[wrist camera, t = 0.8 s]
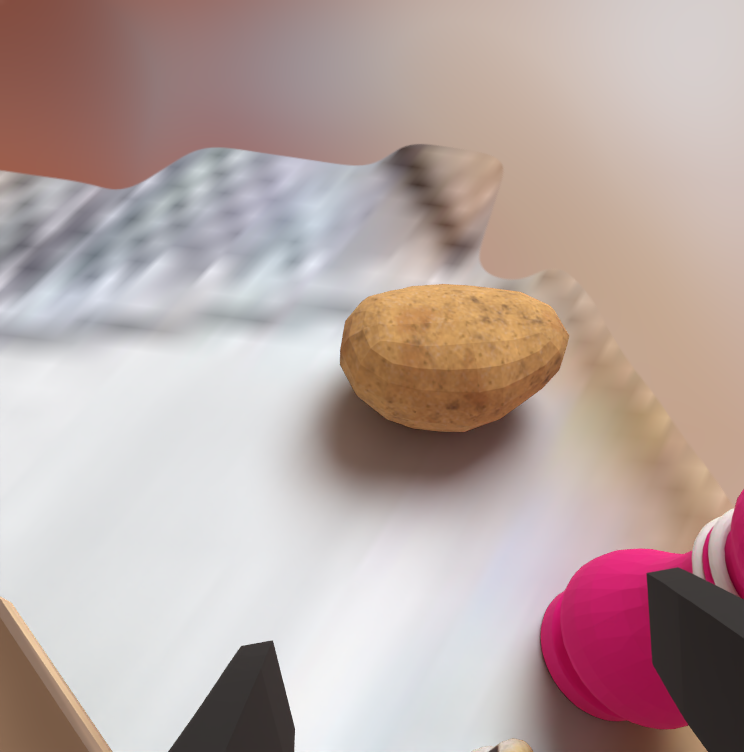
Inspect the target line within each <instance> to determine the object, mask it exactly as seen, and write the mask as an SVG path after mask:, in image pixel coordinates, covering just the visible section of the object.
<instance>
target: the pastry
mask: <svg viewBox="0 0 744 752" xmlns="http://www.w3.org/2000/svg"><path fill="white" fill-rule="evenodd" d="M472 752H533V750H532V749H531V747H530V746H529V745H528V744H527V743H526V742H524V741H523V740H518V739H514V738H513V739H509V740H506V741H503V742H501V743H499V744H498V745H497V746H495V747H492V746H486V747H481V748H479V749H476V750H473V751H472Z"/></svg>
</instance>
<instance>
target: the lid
mask: <svg viewBox="0 0 744 752" xmlns="http://www.w3.org/2000/svg"><path fill="white" fill-rule="evenodd" d="M0 752H112V750H111V749H110V747H109V746H108V744H107V743H106V741H105V740H104V739H103V737H102V736H101V734H100V733H99V731H98V730H97V728H96V727H95V725H94V724H93V722H92V721H91V719H90V718H89V716H88V715H87V713H86V712H85V710H84V709H83V708H82V706H81V705H80V703H79V702H78V700H77V699H76V697H75V696H74V694H73V693H72V691H71V690H70V688H69V687H68V685H67V684H66V682H65V681H64V680H63V678H62V677H61V675H60V674H59V672H58V671H57V669H56V668H55V666H54V665H53V663H52V662H51V660H50V659H49V657H48V656H47V654H46V653H45V652H44V650H43V649H42V647H41V646H40V644H39V643H38V641H37V640H36V638H35V637H34V635H33V634H32V632H31V631H30V629H29V628H28V626H27V625H26V624H25V622H24V621H23V619H22V618H21V616H20V615H19V613H18V612H17V610H16V609H15V607H14V606H13V604H12V603H11V602H9V601H7V600H5V599H4V598H2V597H0Z"/></svg>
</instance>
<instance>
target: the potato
mask: <svg viewBox="0 0 744 752" xmlns="http://www.w3.org/2000/svg"><path fill="white" fill-rule="evenodd" d="M568 339H569V334H568V333H567V331H566V329H565V328H564V326H563V324H562V323H561V321H560V319H559V318H558V316H557V314H556V313H555V311H554V310H553V308H552V307H551V306H549V305H547V304H545V303H543V302H541V301H539V300H536V299H534V298H532V297H530V296H528V295H526V294H524V293H522V292H516V291H509V290H501V289H494V288H485V287H476V286H467V285H449V284H439V285H425V286H411V287H407V288H403V289H399V290H393V291H388V292H385V293H381V294H377V295H373V296H369V297H367V298H366V299H365V300H363V301H362V302H361V303H360V304H359V305H358V307H357V308H356V309H355V310H354V311H353V313H352V314H351V315H350V316H349V317H348V318H347V320H346V321H345V326H344V331H343V338H342V343H341V349H340V366H341V367H342V369H343V371H344V373H345V375H346V377H347V379H348V380H349V382H350V384H351V386H352V388H353V390H354V391H355V393H356V395H357V396H358V397H359V398H360V399H362V400H363V401H364V402H365V403H366V404H368V405H369V406H370V407H372V408H373V409H374V410H375V411H377V412H378V413H379V414H381V415H382V416H383V417H385V418H386V419H387V420H390V421H393V422H396V423H399V424H401V425H404V426H407V427H410V428H413V429H422V430H431V431H445V432H466V431H469V430H471V429H474V428H477V427H479V426H482V425H485V424H488V423H490V422H493V421H497V420H499V419H501V418H502V417H504V416H505V415H506V414H508V413H509V412H511V411H512V410H513V409H515V408H516V407H517V406H519V405H520V404H522V403H523V402H524V401H526V400H527V399H528V398H530V397H531V396H533V395H534V394H535V393H537V392H538V391H539V390H541V389H542V388H543V387H544V386H545V385H546V384H547V383H548V382H549V381H550V379H551V378H552V377H553V376H554V375H555V374H556V373H557V372H558V371H559V369H560V366H561V363H562V360H563V356H564V353H565V350H566V347H567V343H568Z"/></svg>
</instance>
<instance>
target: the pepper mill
mask: <svg viewBox="0 0 744 752" xmlns="http://www.w3.org/2000/svg"><path fill="white" fill-rule="evenodd" d="M676 567H679V568H681V569H683V570H686V571H688V572H690V573H692V574H694V575H696V576H698V577H700V578H702V579H704V580H706V581H708V582H710V583H712V584H714V585H716V586H718V587H720V588H722V589H724V590H726V591H728V592H730V593H732V594H734V595H736V596H738V597H740V598H742V599H744V490H743V491H742V492H741V494H740V495H739V497H738V498H737V502H736V505H735V508H734V509H731V510H729V511H728V512H726V513H725V514H724V515H722V516H721V517H718V518H715V519H714V520H712V521H711V522H709V523H708V524H706V525H705V526H704V527H703V528H702V530H701V531H700V533H699V534H698V536H697V538H696V540H695V542H694V546H693V550H692V551H690V552H688V553H685V554H675V553H668V552H663V551H658V550H653V549H627V550H617V551H613V552H610V553H607V554H605V555H602V556H600V557H597V558H595V559H593V560H591V561H590V562H588V563H586V564H585V565H583V566H582V567H581V568H580V569H579V570H578V571H577V572H576V573H575V575H574V576H573V577H572V578H571V580H570V582H569V584H568V586H567V588H566V589H565V591H563V592H562V593H560V594H559V595H558V596H556V597H555V599H554V600H553V601H552V602H551V603H550V605H549V606H548V608H547V610H546V612H545V614H544V618H543V622H542V626H541V646H542V652H543V656H544V659H545V662H546V665H547V668H548V670H549V672H550V674H551V676H552V678H553V680H554V681H555V683H556V684H557V686H558V687H559V689H560V690H561V691H562V692H563V693H564V695H565V696H566V697H567V698H568V699H569V700H570V701H571V702H572V703H573V704H575V705H576V706H577V707H578V708H580V709H581V710H583V711H584V712H586V713H588V714H590V715H592V716H594V717H597V718H600V719H603V720H608V721H625V720H628V721H630V722H632V723H635V724H638V725H641V726H644V727H650V728H655V729H676V728H680V727H684V726H688V723H687V722H686V721H685V719H684V718H683V716H682V714H681V713H680V711H679V709H678V708H677V706H676V704H675V703H674V701H673V699H672V698H671V696H670V694H669V693H668V691H667V689H666V687H665V685H664V684H663V682H662V680H661V678H660V677H659V675H658V673H657V671H656V669H655V668H654V666H653V664H652V651H651V636H650V620H649V605H648V589H647V574H646V573H649V572H654V571H660V570H665V569H671V568H676Z"/></svg>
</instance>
